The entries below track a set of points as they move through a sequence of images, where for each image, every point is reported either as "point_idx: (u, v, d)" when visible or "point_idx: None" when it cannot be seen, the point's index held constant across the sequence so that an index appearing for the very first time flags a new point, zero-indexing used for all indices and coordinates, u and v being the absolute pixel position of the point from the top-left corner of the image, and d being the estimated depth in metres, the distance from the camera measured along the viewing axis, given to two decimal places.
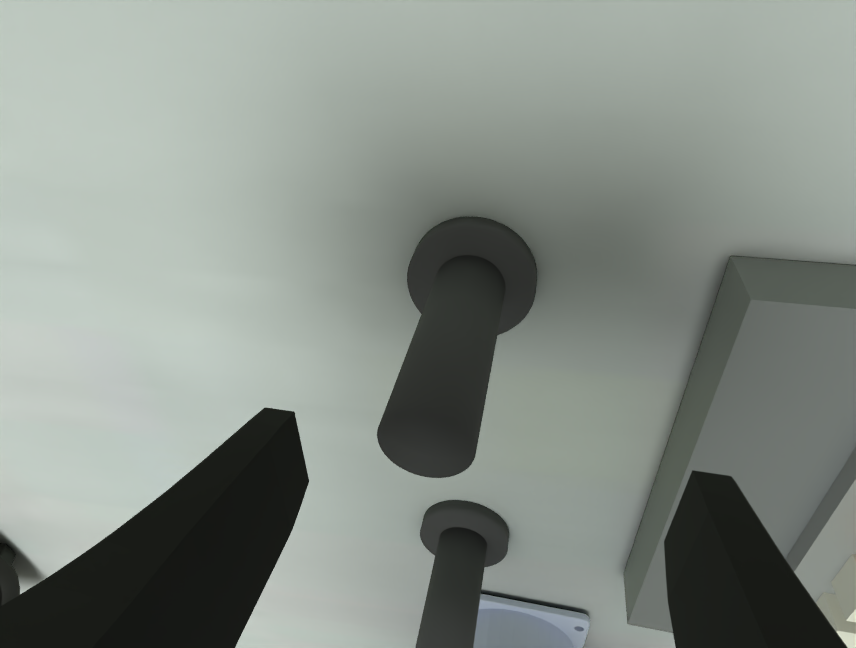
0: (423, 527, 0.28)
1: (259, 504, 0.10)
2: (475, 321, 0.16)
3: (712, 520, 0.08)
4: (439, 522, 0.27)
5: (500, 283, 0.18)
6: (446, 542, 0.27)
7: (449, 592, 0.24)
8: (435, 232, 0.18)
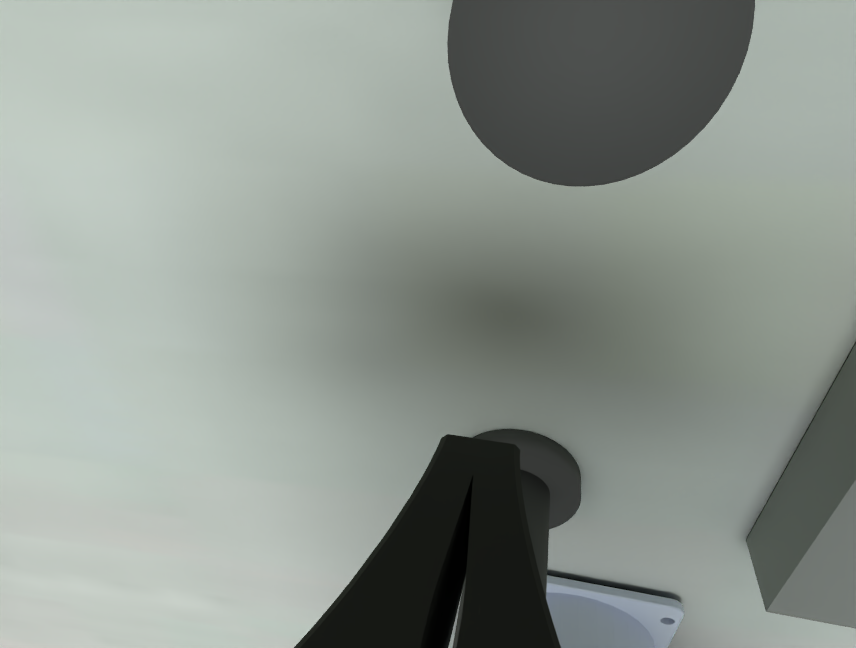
0: None
1: (462, 541, 0.09)
2: None
3: (475, 482, 0.09)
4: None
5: None
6: None
7: None
8: None
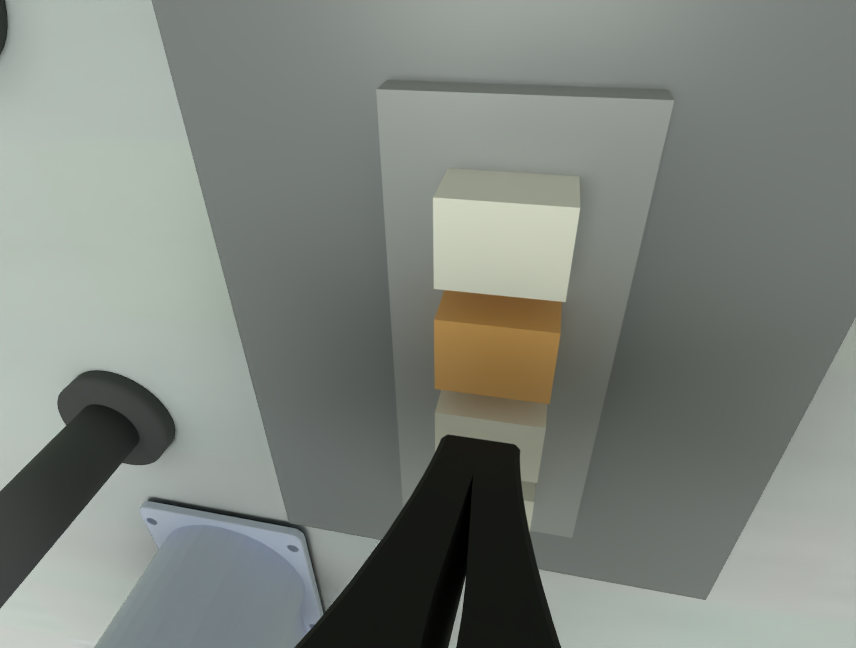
0: (59, 407, 0.22)
1: (462, 541, 0.09)
2: None
3: (474, 482, 0.09)
4: (71, 398, 0.21)
5: None
6: (71, 421, 0.21)
7: (30, 472, 0.19)
8: None
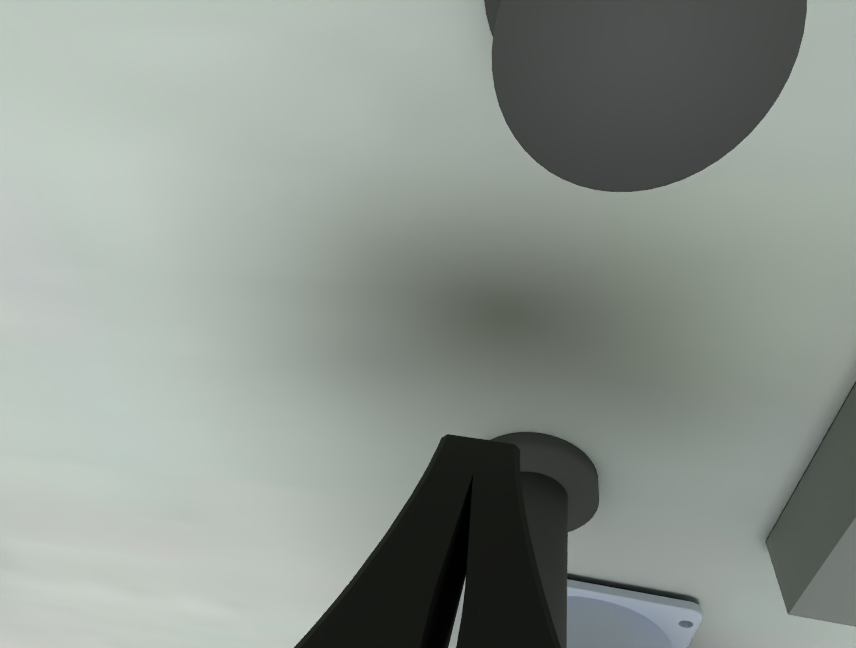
0: None
1: (462, 541, 0.09)
2: None
3: (474, 482, 0.09)
4: None
5: None
6: None
7: None
8: None
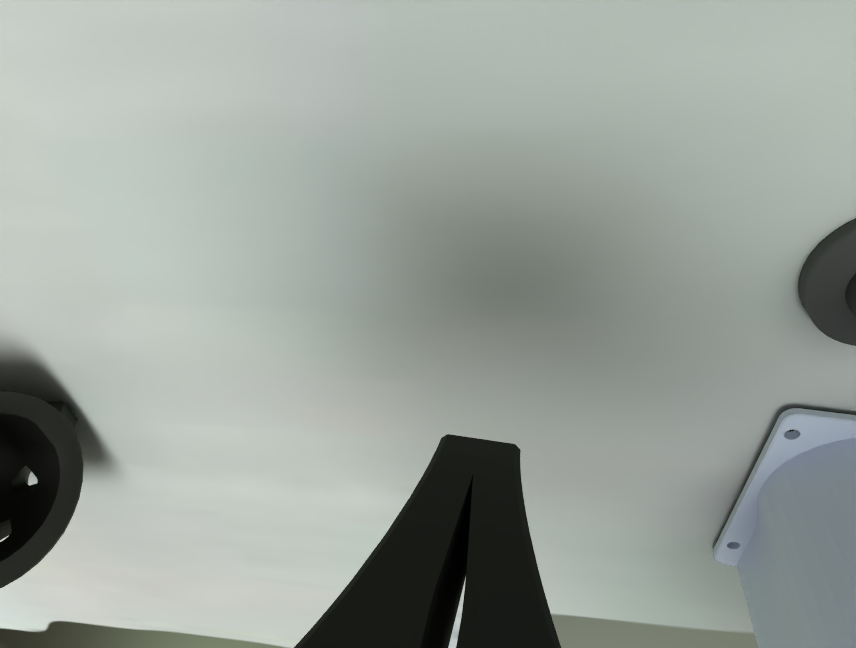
0: (827, 261, 0.16)
1: (462, 541, 0.09)
2: None
3: (474, 482, 0.09)
4: None
5: None
6: None
7: None
8: None
